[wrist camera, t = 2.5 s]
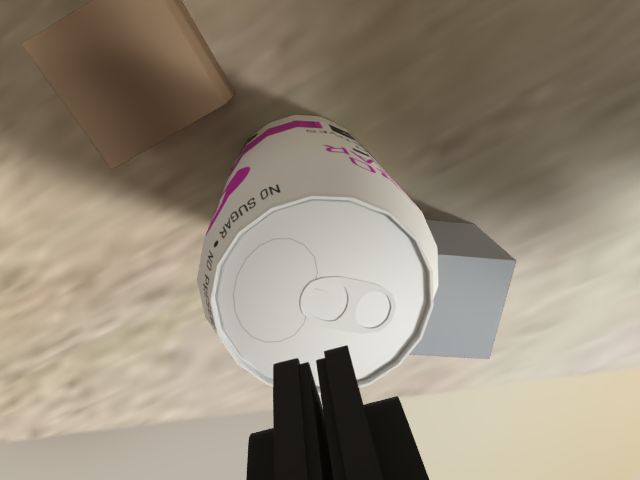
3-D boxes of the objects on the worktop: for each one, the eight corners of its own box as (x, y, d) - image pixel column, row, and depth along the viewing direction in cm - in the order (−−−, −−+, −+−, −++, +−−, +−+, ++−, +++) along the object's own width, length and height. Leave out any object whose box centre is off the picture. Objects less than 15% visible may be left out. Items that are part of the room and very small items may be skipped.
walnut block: (173, -14, 25) (144, -33, 20) (235, 93, 27) (225, 104, 22) (76, 46, 26) (21, 44, 20) (144, 146, 28) (111, 170, 22)
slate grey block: (473, 223, 31) (516, 260, 26) (453, 307, 33) (489, 359, 28) (381, 215, 31) (403, 251, 25) (366, 301, 33) (384, 353, 27)
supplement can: (222, 234, 30) (173, 392, 16) (247, 97, 27) (216, 144, 13) (350, 259, 31) (408, 426, 17) (387, 131, 29) (489, 206, 15)
